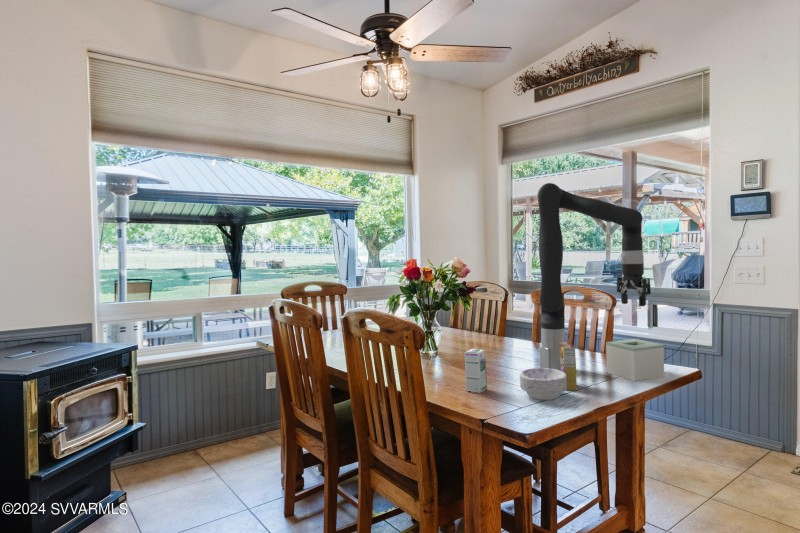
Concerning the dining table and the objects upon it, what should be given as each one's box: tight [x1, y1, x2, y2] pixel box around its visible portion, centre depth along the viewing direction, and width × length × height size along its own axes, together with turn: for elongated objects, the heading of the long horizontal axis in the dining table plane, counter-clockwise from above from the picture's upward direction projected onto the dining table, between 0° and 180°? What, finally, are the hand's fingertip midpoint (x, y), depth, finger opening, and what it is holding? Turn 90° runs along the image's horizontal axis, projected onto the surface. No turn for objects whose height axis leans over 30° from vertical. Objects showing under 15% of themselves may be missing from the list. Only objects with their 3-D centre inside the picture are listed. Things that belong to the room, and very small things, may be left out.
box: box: [605, 338, 665, 382], centre depth 185 cm, size 14×14×12 cm
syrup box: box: [464, 348, 488, 394], centre depth 173 cm, size 6×6×14 cm
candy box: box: [559, 341, 578, 391], centre depth 173 cm, size 9×4×15 cm, turn 171°
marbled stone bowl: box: [519, 367, 567, 401], centre depth 164 cm, size 15×15×8 cm
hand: (633, 304), depth 184 cm, fingers open, 8 cm apart
